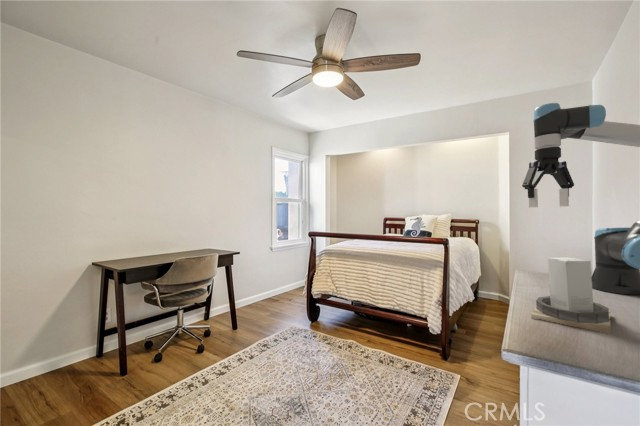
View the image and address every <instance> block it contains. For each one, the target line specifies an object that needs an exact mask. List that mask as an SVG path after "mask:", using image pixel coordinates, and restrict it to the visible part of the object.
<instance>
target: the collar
mask: <svg viewBox="0 0 640 426" xmlns="http://www.w3.org/2000/svg"><path fill="white" fill-rule="evenodd" d="M535 304H536V307H535V308H534V309H533V311H532V312H531V314H530V315H531V316H530V317H531V319H534V318H536V319H535V320H539V319H542V320H541V321H544V320H547V321H546V322H549V321H551V322H550V323H554V322H556V323H555V324H559V323H560V324H559V325H563V326H564V325H566V326H570V327H576V328H581V329H586V330H589V331H597V332H601V333H606V334H611V320H610V319H611V315H612V314H611V311H610V309H609V308H608V307H607V306H605V305H603V304H601V303H598V302H594V301H593V308H594V312H578V311H571V310H565V309H560V308H556V307H553V306H551V300H550V295H547V296H540V297H537V299H536V301H535Z"/></svg>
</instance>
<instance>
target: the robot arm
mask: <svg viewBox="0 0 640 426" xmlns="http://www.w3.org/2000/svg"><path fill="white" fill-rule="evenodd" d="M606 116H607V109H606V108H605V106H604V105H602V104H588V105H584V106H574V107H568V108H567V107H566V108H561V105H560V104H559V103H558V102H550V103H545V104H541V105H539V106H537V107H536V108H535V109H534V111H533V131H534V132H533V133H534V149H535V151H534V161H530V162H529V164H528V169H527V172H526V174H525V177H524V180H523V183H522V185H521V186H522V187H523V188H524V190H527V198H528V207H529V208H538V207H539V206H538V204H539V203H538V202H539V201H538V200H539V197H538V196H539V195H538V188H536V187H537V186H538V184H539V183H540V182H541V179H543V177H544V175H550V176H552V177H553V178H554V180H555V181H556V183H557V185H558V186H559V187H560V188H559V189H558V192H559V193H558V194H559V195H558V196H559V197H558V199H559V200H558V201H559V207H560V208H561V207H569V206H570V200H569V197H570V189H573V187H575V183H574V180H573V179H572V176H571V174H570V171H569V169H568V166H567V161H565V160H564V161H559V159H560V158H561V157H562V147H561V145H562V140H564V139H565V140H566V139H573V140H583V141H590V142H597V143H598V142H599V143H606V144H613V145H621V146H622V145H623V146H628V147H635V148H640V124H634V123H627V122H617V121H609V120H606ZM593 238H594V239H593V240H594V253H595V254H594V256H595V268H594V270H593V272H592V274H591V278H592V289H595V290H597V291H601V292H602V291H603V292H607V293H613V294H621V295H633V296H634V295H635V296H636V295H637V296H640V221H639V220H638V221H635V222H634V223H633V224H632V225H631V226H630V227H605V228H598V229H596V230H595V231H594V237H593Z"/></svg>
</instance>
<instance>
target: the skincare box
mask: <svg viewBox="0 0 640 426" xmlns="http://www.w3.org/2000/svg"><path fill="white" fill-rule="evenodd" d="M591 265H592V263H591V260H587V259H583V258H582V259H581V258H577V257H572V256H571V257H570V256H565V257H564V256H561V257H559V256H558V257H547V267H548V280H549V281H548V282H549V284H548V285H549V296H550V300H551V306H553V307H556V308H560V309H565V310H571V311H578V312H594V308H593V302H594V295H593V288H592V278H591V277H592V266H591Z"/></svg>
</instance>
